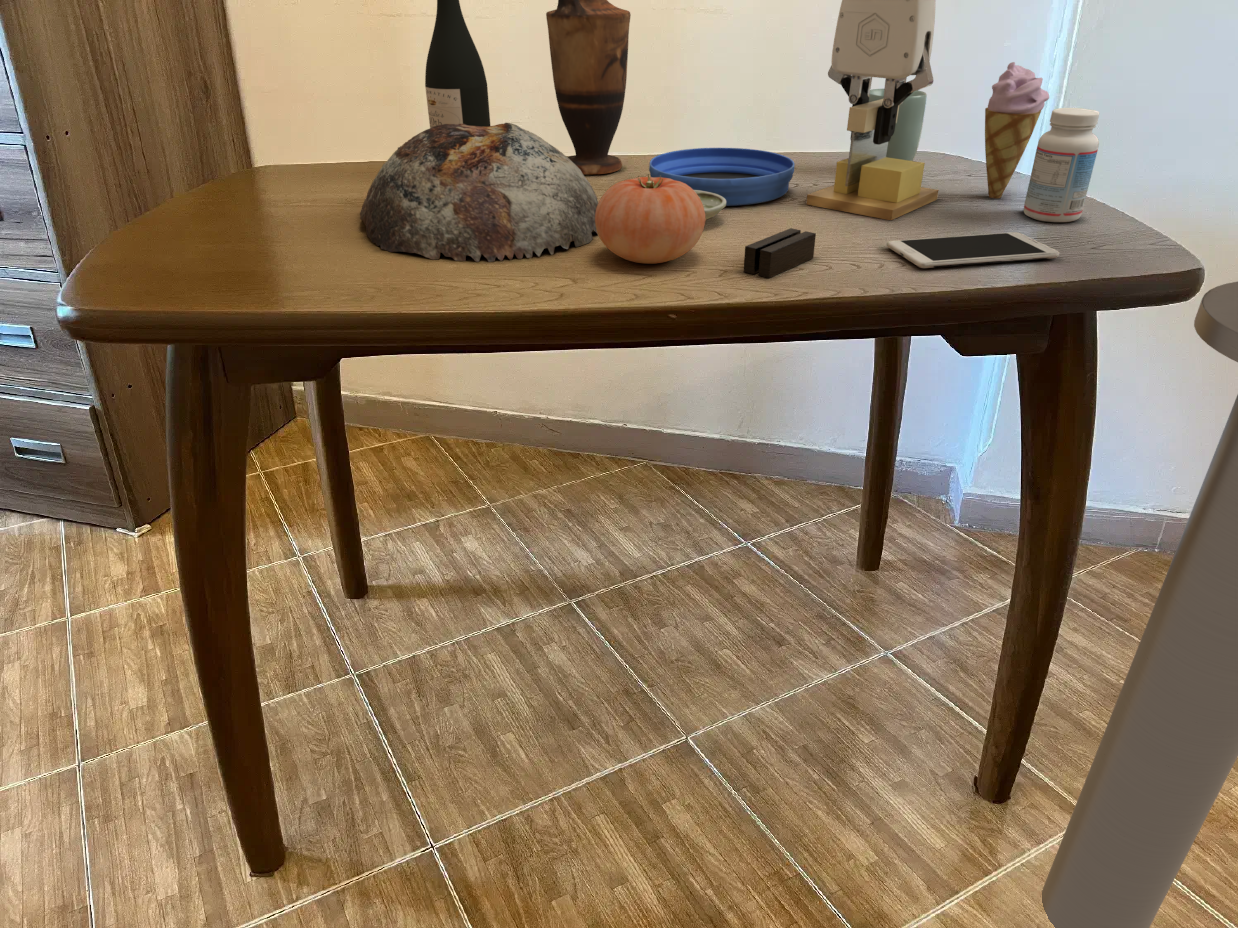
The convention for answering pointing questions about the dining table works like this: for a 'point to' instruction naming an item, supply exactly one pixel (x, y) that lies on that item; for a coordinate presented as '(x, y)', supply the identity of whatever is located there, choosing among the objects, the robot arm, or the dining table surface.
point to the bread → (478, 195)
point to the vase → (590, 76)
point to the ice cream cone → (1010, 123)
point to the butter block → (890, 179)
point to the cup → (905, 125)
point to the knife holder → (779, 252)
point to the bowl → (728, 172)
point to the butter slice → (843, 178)
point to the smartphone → (971, 250)
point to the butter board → (870, 203)
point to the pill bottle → (1063, 166)
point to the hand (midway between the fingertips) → (870, 139)
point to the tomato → (650, 219)
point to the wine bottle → (455, 72)
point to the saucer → (711, 203)
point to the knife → (863, 139)
